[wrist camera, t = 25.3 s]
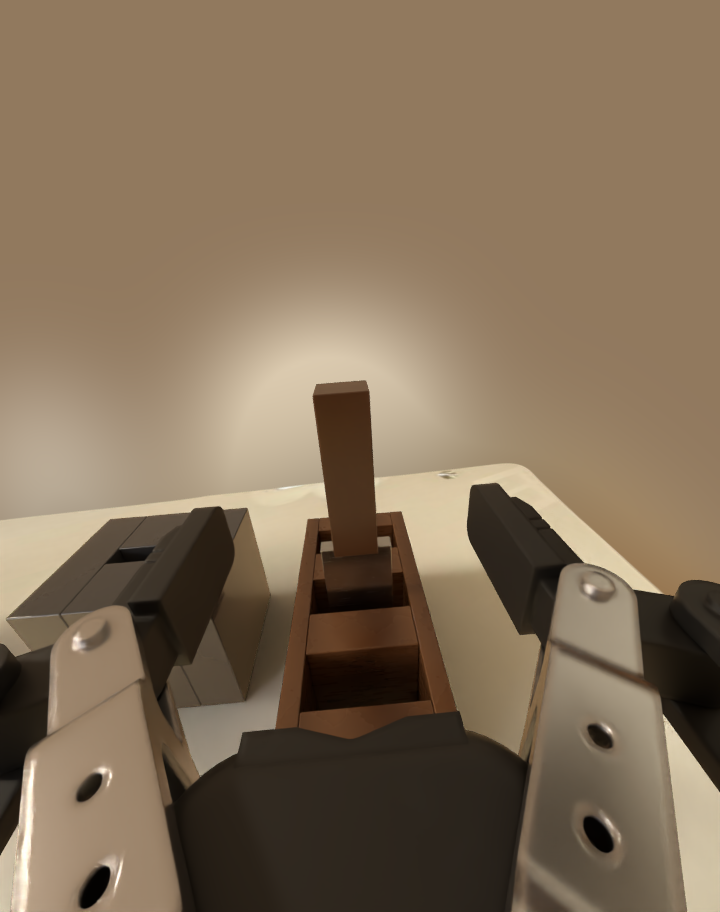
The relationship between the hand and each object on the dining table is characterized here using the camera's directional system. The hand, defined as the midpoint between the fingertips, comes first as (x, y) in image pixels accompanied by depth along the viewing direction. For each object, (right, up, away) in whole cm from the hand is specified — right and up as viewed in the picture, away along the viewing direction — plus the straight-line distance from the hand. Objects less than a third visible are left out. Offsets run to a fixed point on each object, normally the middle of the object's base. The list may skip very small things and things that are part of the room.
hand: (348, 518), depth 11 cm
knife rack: (+1, -14, +13) cm, 19 cm away
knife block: (-13, -14, +16) cm, 25 cm away
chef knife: (+1, -14, +13) cm, 19 cm away
